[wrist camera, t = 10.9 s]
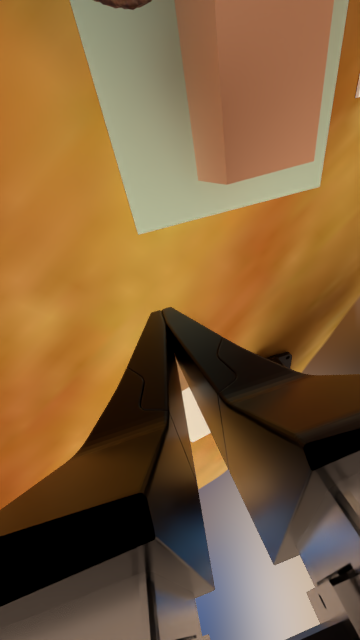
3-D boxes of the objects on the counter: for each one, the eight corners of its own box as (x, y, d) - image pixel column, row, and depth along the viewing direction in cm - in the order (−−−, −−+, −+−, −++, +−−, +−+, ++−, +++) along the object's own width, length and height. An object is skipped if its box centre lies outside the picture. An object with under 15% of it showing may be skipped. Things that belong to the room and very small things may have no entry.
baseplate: (306, 185, 15) (319, 186, 14) (136, 230, 14) (138, 234, 13) (353, -183, 8) (384, -228, 7) (27, -146, 7) (13, -193, 6)
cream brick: (212, 392, 26) (226, 424, 23) (183, 409, 26) (192, 442, 23) (179, 353, 21) (191, 385, 18) (144, 373, 22) (150, 409, 19)
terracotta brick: (264, 163, 13) (314, 161, 10) (198, 180, 13) (227, 184, 9) (268, -99, 8) (367, -272, 5) (163, -81, 8) (197, -252, 5)
